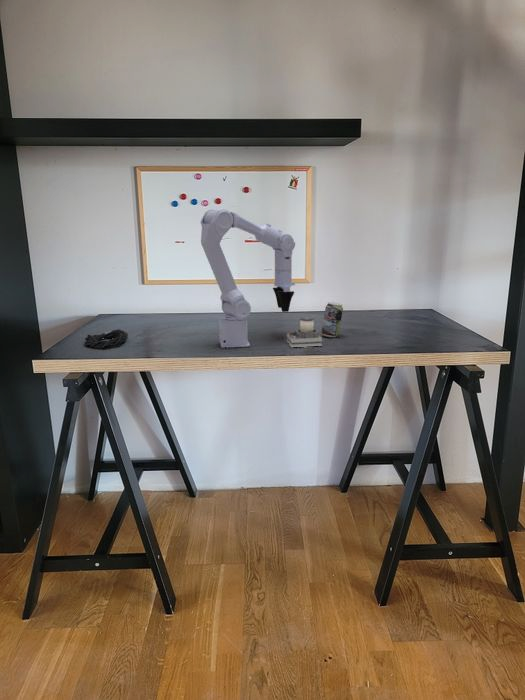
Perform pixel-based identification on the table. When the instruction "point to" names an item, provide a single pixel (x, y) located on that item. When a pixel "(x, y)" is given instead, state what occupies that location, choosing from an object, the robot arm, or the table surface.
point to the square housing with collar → (304, 338)
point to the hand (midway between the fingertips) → (283, 309)
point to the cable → (117, 334)
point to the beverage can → (332, 319)
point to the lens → (306, 324)
